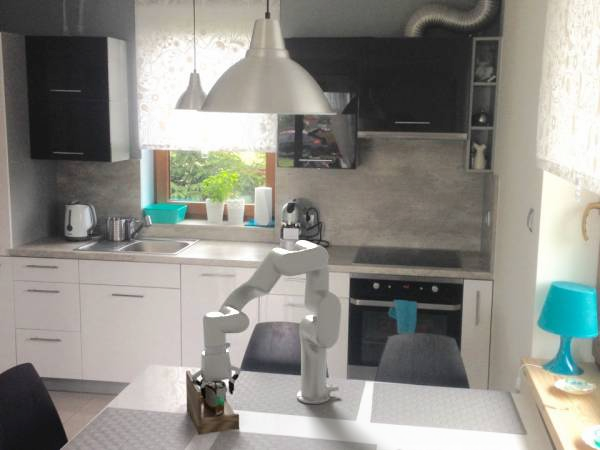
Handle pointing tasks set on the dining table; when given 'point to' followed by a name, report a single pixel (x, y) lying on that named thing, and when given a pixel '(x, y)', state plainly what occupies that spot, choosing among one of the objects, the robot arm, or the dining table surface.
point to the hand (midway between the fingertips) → (217, 395)
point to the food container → (215, 397)
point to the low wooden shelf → (204, 418)
